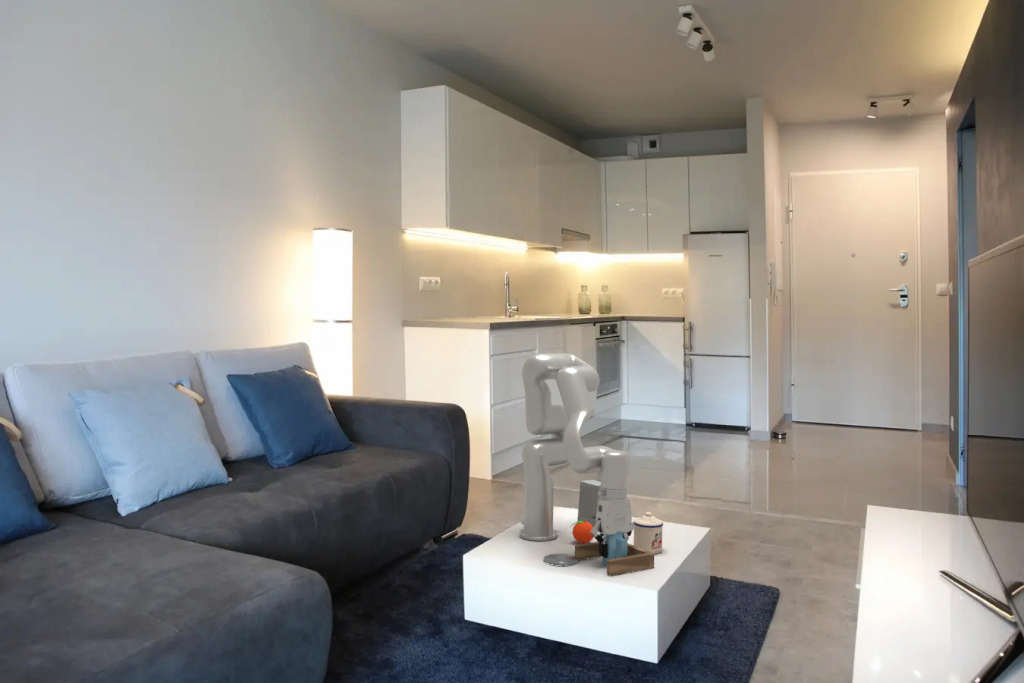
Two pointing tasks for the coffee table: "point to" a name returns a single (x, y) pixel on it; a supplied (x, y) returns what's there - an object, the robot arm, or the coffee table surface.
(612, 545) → the jug
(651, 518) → the teacup with lid
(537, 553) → the coffee table surface
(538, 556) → the coffee table surface
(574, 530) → the clementine
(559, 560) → the coaster
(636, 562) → the open wooden frame
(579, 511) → the skincare box
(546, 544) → the coffee table surface
